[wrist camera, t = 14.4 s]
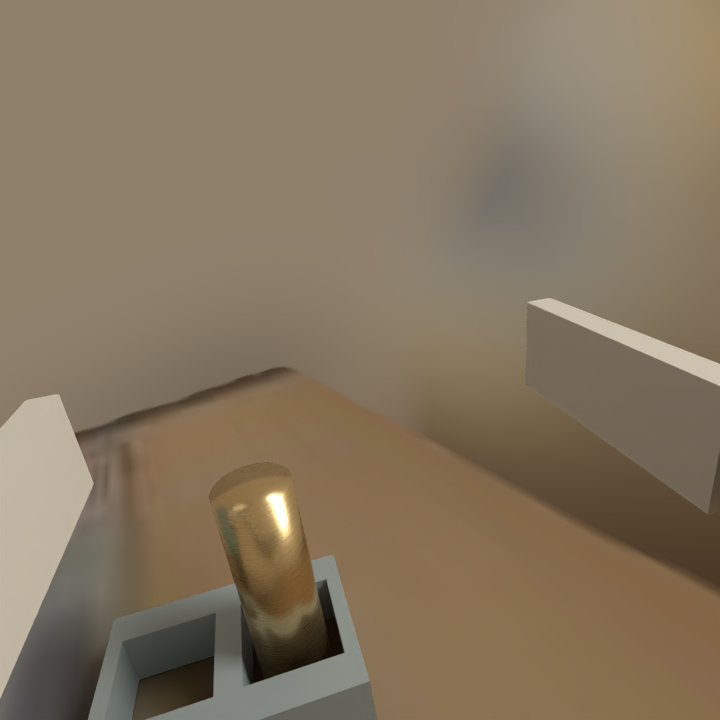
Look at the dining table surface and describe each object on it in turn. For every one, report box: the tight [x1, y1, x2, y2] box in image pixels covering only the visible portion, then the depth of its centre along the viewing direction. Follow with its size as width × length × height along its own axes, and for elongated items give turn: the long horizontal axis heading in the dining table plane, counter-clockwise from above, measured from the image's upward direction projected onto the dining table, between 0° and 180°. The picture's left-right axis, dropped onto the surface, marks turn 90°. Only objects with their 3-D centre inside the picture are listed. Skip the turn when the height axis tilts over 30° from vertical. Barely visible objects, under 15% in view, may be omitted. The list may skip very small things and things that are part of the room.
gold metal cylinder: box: [209, 463, 333, 680], centre depth 29 cm, size 4×4×14 cm
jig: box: [88, 554, 377, 720], centre depth 30 cm, size 15×10×4 cm, turn 105°
